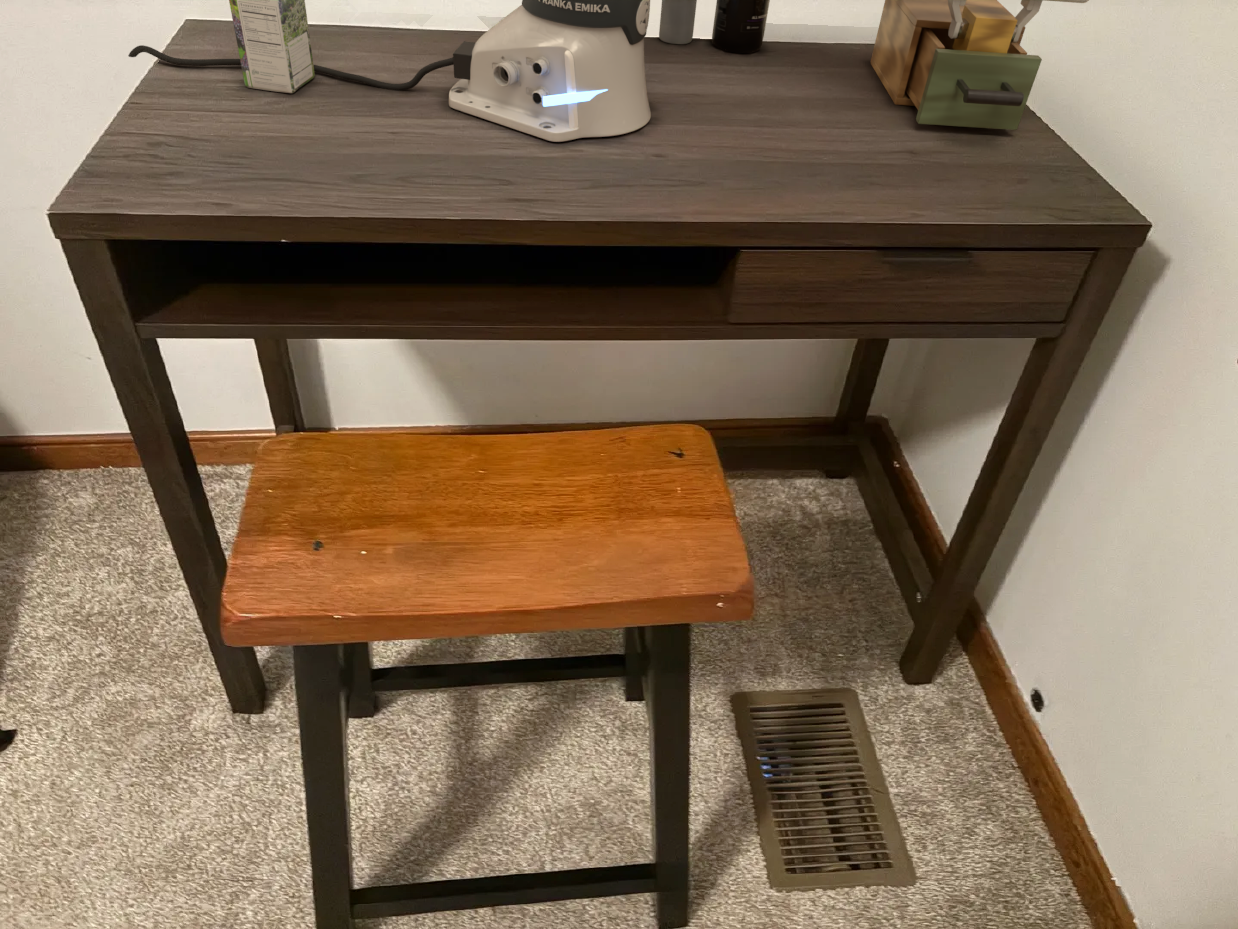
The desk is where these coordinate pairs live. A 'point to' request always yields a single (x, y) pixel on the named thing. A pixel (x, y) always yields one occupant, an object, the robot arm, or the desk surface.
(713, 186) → the desk surface
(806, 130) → the desk surface
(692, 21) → the planter
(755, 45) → the supplement bottle
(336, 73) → the robot arm
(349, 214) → the desk surface
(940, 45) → the drawer
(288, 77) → the syrup box
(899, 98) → the cabinet
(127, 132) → the desk surface
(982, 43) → the block
